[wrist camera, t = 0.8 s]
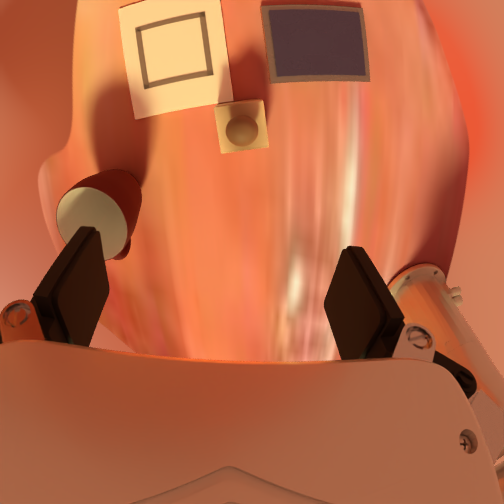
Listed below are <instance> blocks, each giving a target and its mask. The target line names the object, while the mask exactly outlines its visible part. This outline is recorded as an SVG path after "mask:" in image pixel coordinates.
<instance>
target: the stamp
mask: <svg viewBox="0 0 504 504" xmlns="http://www.w3.org/2000/svg"><path fill="white" fill-rule="evenodd" d="M214 113H215V119H216V125H217V131H218V137H219V143H220V149H221V154H222V153H229V152H236V151H243V150H250V149H258V148H266V147H269V143H268V135H267V126H266V118H265V110H264V102H263V100H261V99H251V100H244V101H236V102H229V103H223V104H217V105H216V106H215V107H214Z"/></svg>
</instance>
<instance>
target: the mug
mask: <svg viewBox="0 0 504 504" xmlns="http://www.w3.org/2000/svg"><path fill="white" fill-rule="evenodd" d="M141 202H142V194H141V189H140V186H139V184H138V182H137V181H136V179H135V178H134V177H133V176H132V175H131V174H129V173H127V172H125V171H123V170H118V169H111V170H106V171H103V172H100V173H98V174H95V175H92V176H90V177H87V178H85V179H83V180H81V181H80V182H78V183H77V184H76V185H74V186H73V187H72V188H71V189H70V190H69V191H67V192H66V193H65V194H64V196H63V197H62V198H61V200H60V202H59V204H58V207H57V211H56V222H57V227H58V230H59V233H60V235H61V237H62V239H63V240H64V242H65V243H66V244H67V243H68V242H69V241H70V239H71V238H72V237H73V235H74V234H75V233H76V231H77V230H78V229H79V227H80V226H91V227H95V228H96V231H99V232H100V235H101V241H102V248H103V254H104V260H105V261H106V260H110V259H114V260H121V259H123V258H125V257H126V256H127V254H128V253H129V250H130V245H131V236H132V234H133V231H134V229H135V226H136V223H137V219H138V215H139V211H140V207H141Z"/></svg>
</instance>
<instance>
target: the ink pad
mask: <svg viewBox="0 0 504 504" xmlns="http://www.w3.org/2000/svg"><path fill="white" fill-rule="evenodd" d="M260 11H261V18H262V25H263V33H264V40H265V48H266V56H267V64H268V73H269V81H270V84H272V83H286V82H306V81H361V82H370V72H369V59H368V48H367V39H366V30H365V22H364V15H363V8H355V7H344V6H329V5H269V6H261V7H260Z"/></svg>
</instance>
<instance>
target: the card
mask: <svg viewBox="0 0 504 504" xmlns="http://www.w3.org/2000/svg"><path fill="white" fill-rule="evenodd" d="M118 11H119V20H120V29H121V37H122V44H123V52H124V58H125V65H126V71H127V78H128V83H129V89H130V95H131V100H132V106H133V111H134V116H135V120H137V119H141V118H145V117H149V116H154V115H158V114H162V113H167V112H172V111H177V110H182V109H187V108H192V107H198V106H204V105H210V104H216V103H223V102H230V101H234V99H233V92H232V84H231V77H230V70H229V62H228V55H227V47H226V40H225V33H224V25H223V18H222V11H221V4H220V0H145V1H142V2H139V3H135V4H132V5H129V6H126V7H123V8H120V9H118Z"/></svg>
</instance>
